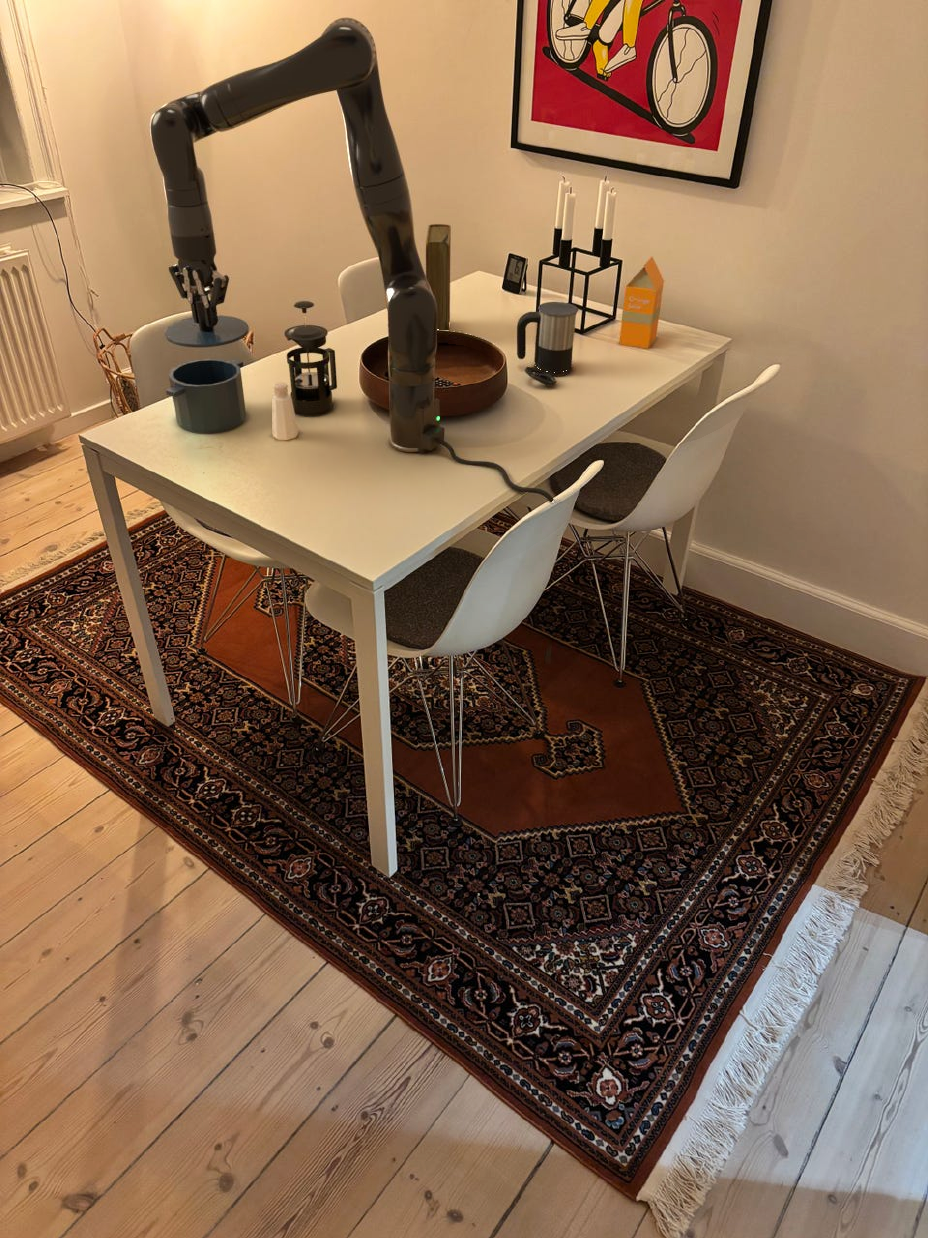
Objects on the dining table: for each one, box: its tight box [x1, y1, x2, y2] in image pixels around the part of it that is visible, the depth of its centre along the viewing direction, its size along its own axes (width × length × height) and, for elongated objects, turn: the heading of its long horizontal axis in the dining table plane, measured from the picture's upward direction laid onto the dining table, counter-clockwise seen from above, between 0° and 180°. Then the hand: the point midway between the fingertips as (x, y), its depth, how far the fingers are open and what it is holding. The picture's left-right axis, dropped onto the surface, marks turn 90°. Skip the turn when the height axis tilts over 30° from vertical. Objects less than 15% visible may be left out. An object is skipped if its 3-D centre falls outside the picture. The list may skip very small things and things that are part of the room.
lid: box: [164, 298, 250, 349], centre depth 182 cm, size 16×16×7 cm
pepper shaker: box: [271, 382, 299, 441], centre depth 198 cm, size 5×5×11 cm
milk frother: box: [516, 301, 579, 387], centre depth 224 cm, size 14×16×15 cm
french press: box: [283, 300, 338, 417], centre depth 205 cm, size 12×9×23 cm
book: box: [425, 223, 452, 331], centre depth 241 cm, size 16×6×25 cm, turn 179°
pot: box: [165, 358, 247, 434], centre depth 203 cm, size 14×20×10 cm
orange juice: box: [618, 256, 665, 349], centre depth 241 cm, size 8×9×20 cm
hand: (206, 323), depth 183 cm, fingers closed on lid, 2 cm apart
